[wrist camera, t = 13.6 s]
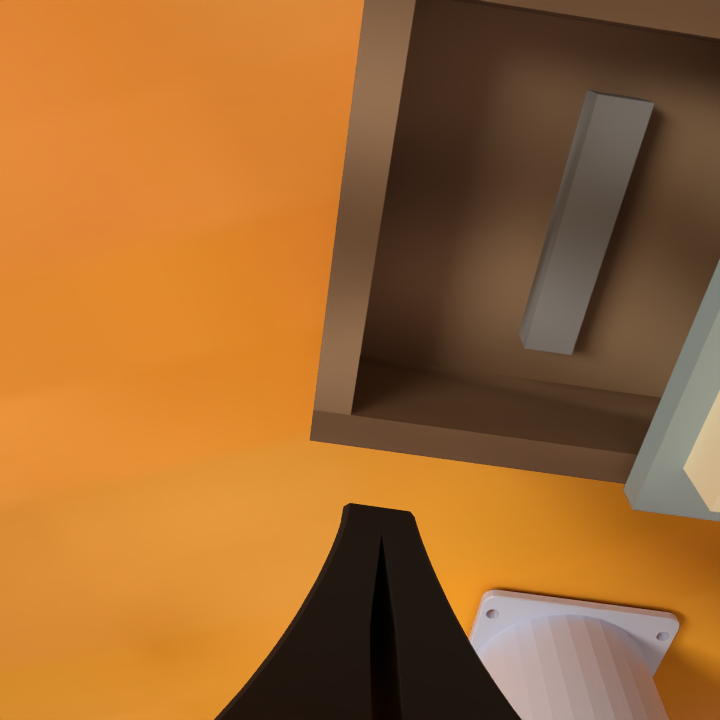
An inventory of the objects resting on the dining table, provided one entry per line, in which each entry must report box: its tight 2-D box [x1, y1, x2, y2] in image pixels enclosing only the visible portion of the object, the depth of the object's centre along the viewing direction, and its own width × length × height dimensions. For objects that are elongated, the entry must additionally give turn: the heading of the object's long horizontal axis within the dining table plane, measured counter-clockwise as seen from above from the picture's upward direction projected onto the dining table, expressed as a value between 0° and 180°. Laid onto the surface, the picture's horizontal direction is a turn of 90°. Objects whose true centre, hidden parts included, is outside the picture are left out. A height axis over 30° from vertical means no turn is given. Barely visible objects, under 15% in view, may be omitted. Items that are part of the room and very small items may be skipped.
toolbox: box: [310, 0, 720, 484], centre depth 17 cm, size 12×15×4 cm
